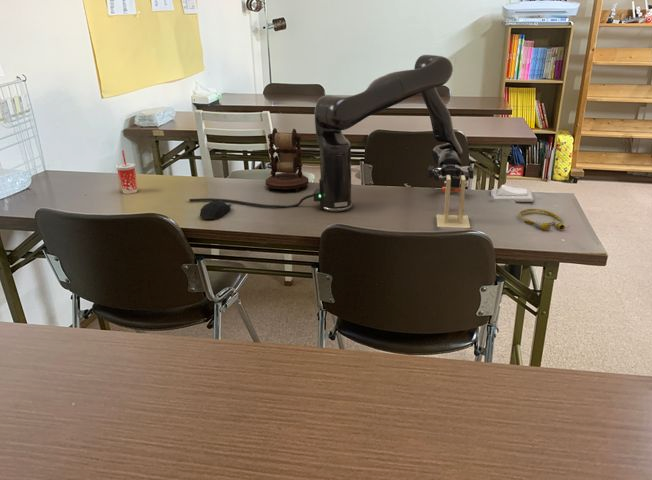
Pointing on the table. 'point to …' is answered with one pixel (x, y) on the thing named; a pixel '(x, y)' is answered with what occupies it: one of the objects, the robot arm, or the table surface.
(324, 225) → the table surface
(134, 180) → the beverage cup
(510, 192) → the light switch
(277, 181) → the brown spool stand
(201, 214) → the gaming mouse
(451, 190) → the lever
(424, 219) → the table surface
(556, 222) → the extension cord
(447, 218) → the bracket
